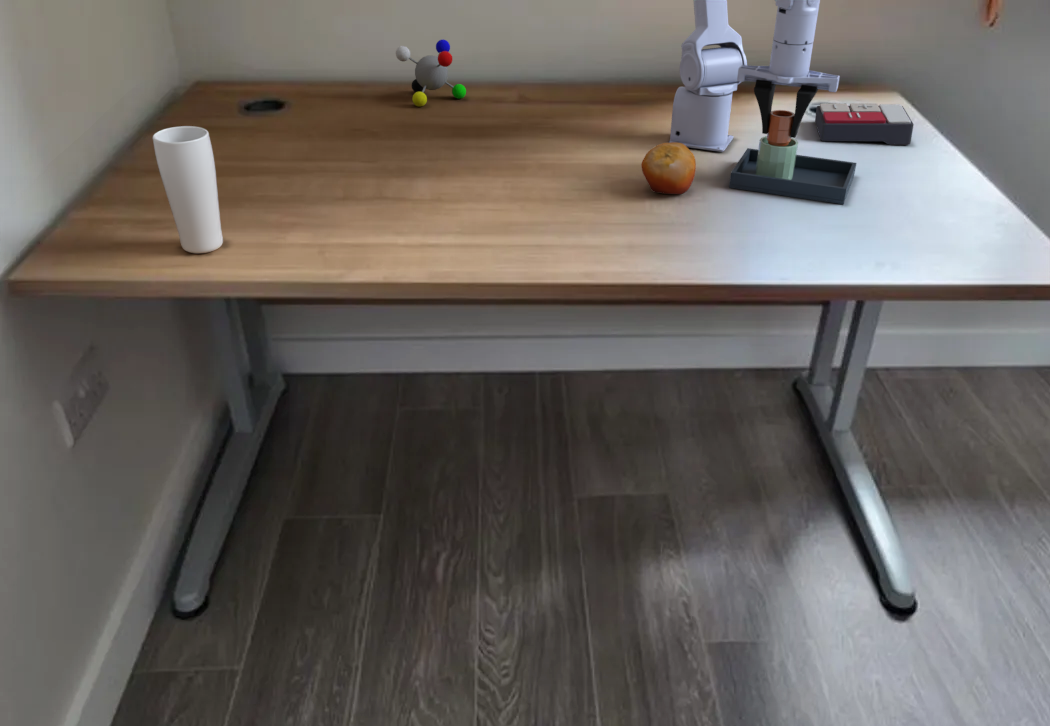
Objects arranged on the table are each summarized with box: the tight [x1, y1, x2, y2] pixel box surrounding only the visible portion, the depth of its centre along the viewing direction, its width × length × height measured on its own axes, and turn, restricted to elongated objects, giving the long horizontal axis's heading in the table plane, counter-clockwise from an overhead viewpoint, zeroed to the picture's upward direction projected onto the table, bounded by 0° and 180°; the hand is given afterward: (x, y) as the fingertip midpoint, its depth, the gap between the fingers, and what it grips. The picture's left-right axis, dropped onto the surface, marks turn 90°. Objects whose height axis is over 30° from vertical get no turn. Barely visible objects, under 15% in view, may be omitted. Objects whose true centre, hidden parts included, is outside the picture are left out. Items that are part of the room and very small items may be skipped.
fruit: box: [640, 142, 697, 195], centre depth 146 cm, size 8×8×8 cm
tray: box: [728, 147, 858, 205], centre depth 151 cm, size 17×12×2 cm
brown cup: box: [766, 109, 795, 146], centre depth 148 cm, size 4×4×4 cm
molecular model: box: [395, 39, 467, 108], centre depth 183 cm, size 11×13×10 cm
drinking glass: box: [152, 125, 224, 254], centre depth 124 cm, size 7×7×15 cm
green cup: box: [755, 135, 799, 180], centre depth 150 cm, size 6×6×6 cm
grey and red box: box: [814, 102, 915, 146], centre depth 170 cm, size 11×4×15 cm
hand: (779, 133), depth 148 cm, fingers closed on brown cup, 4 cm apart
